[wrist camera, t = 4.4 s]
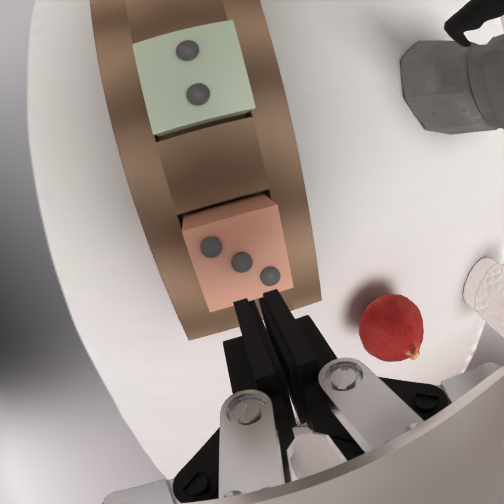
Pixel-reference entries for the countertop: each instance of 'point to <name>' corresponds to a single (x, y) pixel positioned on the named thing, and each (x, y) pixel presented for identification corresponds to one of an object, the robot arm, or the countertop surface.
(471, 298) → the white cup
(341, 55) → the countertop surface
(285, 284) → the button three
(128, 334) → the countertop surface
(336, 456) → the teacup
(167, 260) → the button panel
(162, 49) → the button two
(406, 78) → the coffeepot
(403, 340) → the pomegranate
